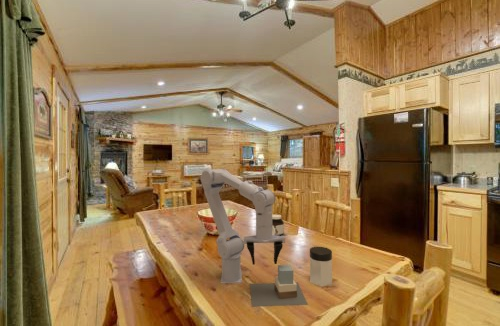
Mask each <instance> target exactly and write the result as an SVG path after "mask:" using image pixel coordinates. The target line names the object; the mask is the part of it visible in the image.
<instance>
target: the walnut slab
mask: <svg viewBox="0 0 500 326" xmlns="http://www.w3.org/2000/svg"><path fill="white" fill-rule="evenodd" d="M274 290H275V292H276V293H277V295H278V297H279V298H280V299H285V298H292V297H297V291H289V292H279V291H278V289H277V287H276V285H275V284H274Z"/></svg>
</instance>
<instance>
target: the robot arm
mask: <svg viewBox="0 0 500 326" xmlns="http://www.w3.org/2000/svg"><path fill="white" fill-rule="evenodd" d="M199 181H200V183H201V185H202V187H203V193H204V196H205V198H206V200H207V204H208V207H209V209H210V212H211V215H212V217H213V221H214V223H215V225H216V228H217V232H218V234H219V235H218V237H217V238H216V245H217V247H216V248H217V254H218V255H219V256H220V259H221V275H220V276H221V278H220V284H241V283H242V281H243V279H242V277H243V276H242V273H243V272H242V269H241V265H242V264H241V263H242V261H241V255H242V252H243V251H244V249H245V245H246V248H247V250H248V252H249V254H250V257H251V261H252V265H255V264H256V261H255V244H269V243H270V244H271V243H272V244H273V249H274V250H273V263H274V265H278V264H277V263H278V258H279V255H280V253H281V251H282V249H283V246H284V245H283V244H286V237H285V235H281V236H276V235H272V215H273V205H274V204H275V202H276V194H275V193H274V192H273V191H272V190H271V189H269V188H267V189H264V188H263V187H262V186H259V185H256V184H254V182H253V181H252V180H245V181H243V180H241V179H239V178H238V177H236V176H235V175H233V174H232V173H230V172H229V170H227V169H225V168H214V169H213V168H212V169H210V168H208V169H207V168H206V169H204V170H203V171H202V173H201V175H200V180H199ZM225 184H227V185H228V186H231V187H233V188H234V189H236V190H238V193H239V195H240V196H243V197H244V198H246V199H248V200H249V201H250V202H252V204H253V206H254V208H255V209H254V211H255V224H256V225H255V235H251V236H250V235H249V236H243V238H242V237H241V236H240V234H239V232H238V231H237V230H235V229H233V227H232V224H231V222H230V219H229V216H228V214H227V212H226V208H225V206H224V203H223V201H222V198H221V196H220V191H221V190H222V188H223V187H224V186H225Z"/></svg>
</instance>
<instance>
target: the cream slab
mask: <svg viewBox="0 0 500 326" xmlns="http://www.w3.org/2000/svg"><path fill="white" fill-rule="evenodd" d="M274 283H275V285H276V287H277V289H278V291H279V292H289V291H297V284H296V281H295V280H294V279H293V284H280V283H279V280H278V276H274Z"/></svg>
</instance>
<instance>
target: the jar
mask: <svg viewBox="0 0 500 326" xmlns="http://www.w3.org/2000/svg"><path fill="white" fill-rule="evenodd" d="M332 259H333V250H332V249H330V248H328V247H325V246H313V247H311V248H310V249H309V283H310V284H313V285H316V286H319V287H321V288H322V287H327V286H332V285H333V260H332Z"/></svg>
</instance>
